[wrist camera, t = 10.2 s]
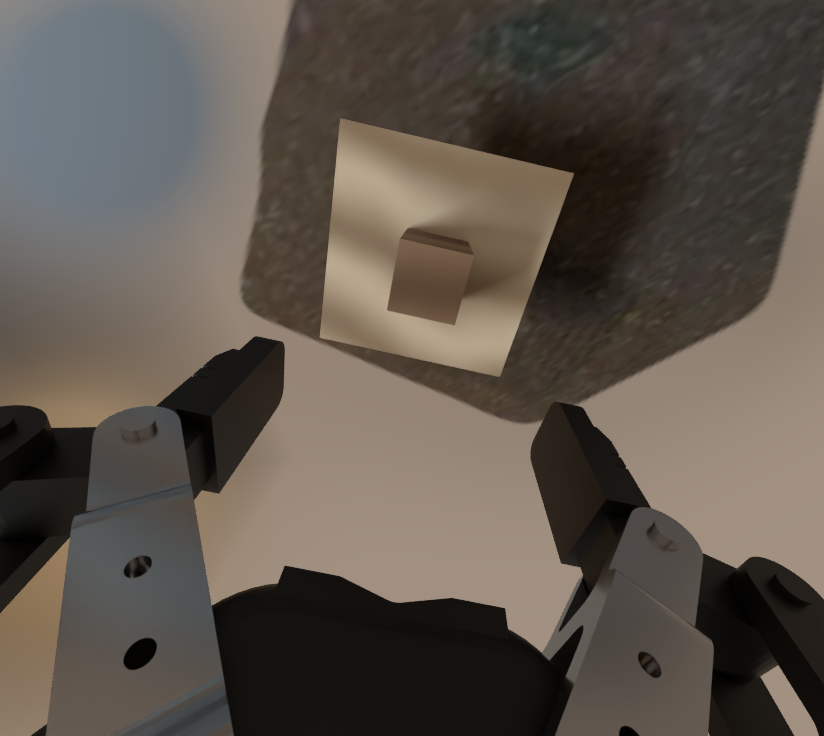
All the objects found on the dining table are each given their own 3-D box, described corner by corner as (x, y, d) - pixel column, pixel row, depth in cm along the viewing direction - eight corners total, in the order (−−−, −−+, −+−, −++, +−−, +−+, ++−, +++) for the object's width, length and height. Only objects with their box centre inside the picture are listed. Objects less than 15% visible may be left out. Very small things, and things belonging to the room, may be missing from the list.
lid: (343, 120, 22) (312, 100, 16) (569, 173, 22) (608, 170, 17) (322, 333, 28) (296, 367, 23) (498, 372, 28) (510, 413, 23)
